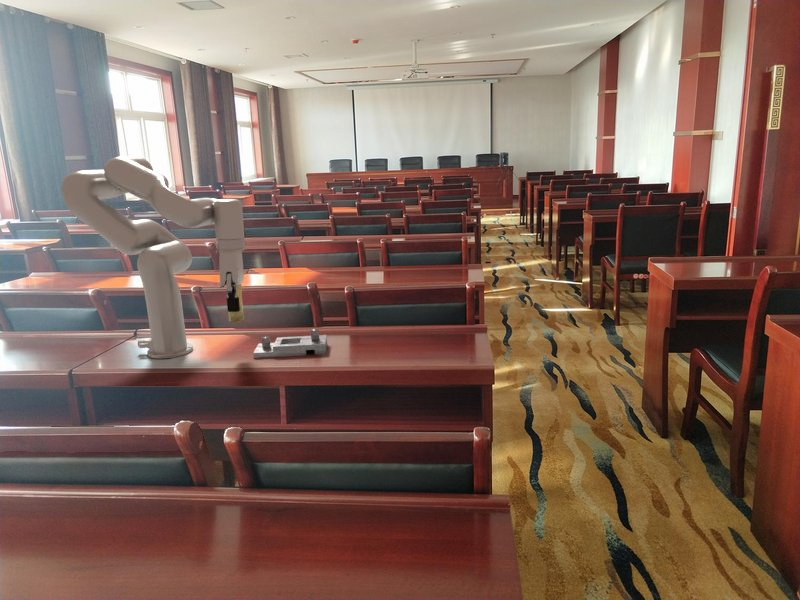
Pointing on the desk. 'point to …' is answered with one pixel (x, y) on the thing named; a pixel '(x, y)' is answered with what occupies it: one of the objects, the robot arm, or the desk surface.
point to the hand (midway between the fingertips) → (235, 308)
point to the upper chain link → (302, 343)
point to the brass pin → (239, 315)
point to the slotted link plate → (267, 350)
